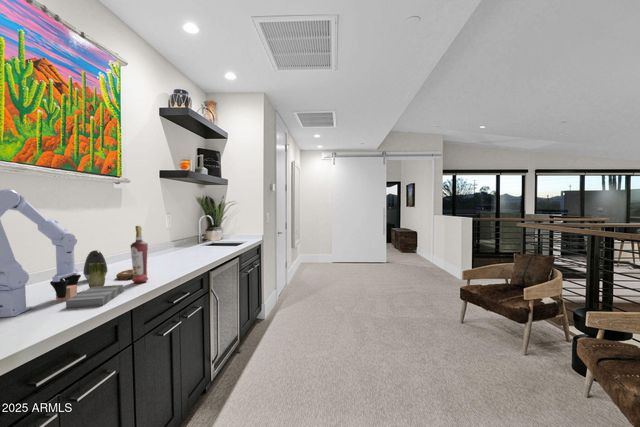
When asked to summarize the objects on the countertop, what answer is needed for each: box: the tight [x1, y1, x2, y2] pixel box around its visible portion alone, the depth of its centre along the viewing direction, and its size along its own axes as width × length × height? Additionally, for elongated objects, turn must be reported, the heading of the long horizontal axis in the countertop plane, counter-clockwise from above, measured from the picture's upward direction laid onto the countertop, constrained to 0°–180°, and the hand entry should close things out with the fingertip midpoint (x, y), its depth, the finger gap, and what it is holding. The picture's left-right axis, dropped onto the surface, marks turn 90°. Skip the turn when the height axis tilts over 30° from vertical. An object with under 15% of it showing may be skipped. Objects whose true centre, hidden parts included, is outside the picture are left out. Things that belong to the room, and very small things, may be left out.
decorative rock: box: [116, 268, 133, 281], centre depth 164 cm, size 11×4×15 cm
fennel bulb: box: [88, 263, 106, 288], centre depth 140 cm, size 6×5×12 cm
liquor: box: [130, 225, 149, 284], centre depth 151 cm, size 7×7×28 cm
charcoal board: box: [65, 284, 124, 310], centre depth 124 cm, size 20×12×3 cm, turn 14°
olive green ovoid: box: [82, 249, 109, 281], centre depth 159 cm, size 10×10×15 cm
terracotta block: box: [55, 284, 78, 302], centre depth 126 cm, size 5×5×5 cm
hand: (66, 295), depth 126 cm, fingers open, 7 cm apart
